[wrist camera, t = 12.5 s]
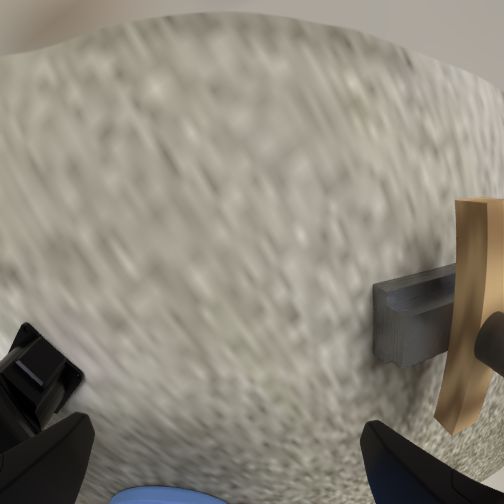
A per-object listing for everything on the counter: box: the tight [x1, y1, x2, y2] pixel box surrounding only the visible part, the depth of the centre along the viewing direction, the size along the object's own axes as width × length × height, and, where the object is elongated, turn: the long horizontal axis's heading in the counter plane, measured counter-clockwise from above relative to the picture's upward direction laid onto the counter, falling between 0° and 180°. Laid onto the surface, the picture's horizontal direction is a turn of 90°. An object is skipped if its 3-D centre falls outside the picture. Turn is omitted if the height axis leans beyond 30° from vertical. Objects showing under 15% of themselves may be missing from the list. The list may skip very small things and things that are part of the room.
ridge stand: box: [373, 263, 456, 369], centre depth 21 cm, size 12×6×4 cm, turn 98°
